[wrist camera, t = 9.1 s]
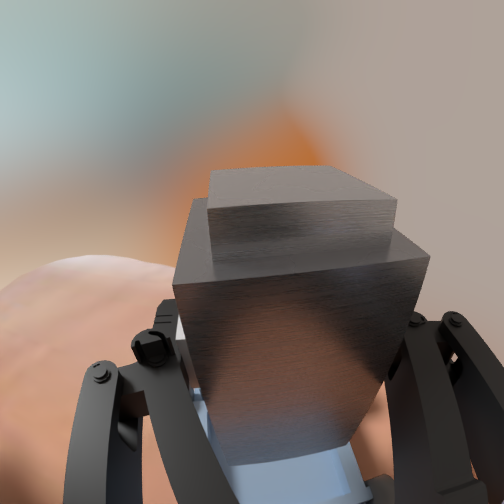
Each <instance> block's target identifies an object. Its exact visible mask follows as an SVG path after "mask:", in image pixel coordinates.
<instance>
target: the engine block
mask: <svg viewBox="0 0 504 504" xmlns="http://www.w3.org/2000/svg"><path fill="white" fill-rule="evenodd" d="M396 206H397V199H396V198H394V197H392V196H390V195H388V194H386V193H385V192H383V191H381V190H379V189H377V188H375V187H373V186H371V185H369V184H367V183H365V182H363V181H361V180H359V179H357V178H355V177H353V176H351V175H349V174H347V173H345V172H343V171H341V170H338V169H336V168H334V167H332V166H277V167H255V168H240V169H239V168H238V169H224V170H213V171H211V174H210V183H209V193H208V198H198V199H193V203H192V206H191V210H190V213H189V217H188V221H187V225H186V229H185V232H184V236H183V240H182V244H181V248H180V253H179V257H178V261H177V266H176V270H175V274H174V278H173V283H172V286H173V291H174V295H175V300H176V304H177V308H178V312H179V316H180V320H181V324H182V328H183V332H184V335H185V339H186V343H187V346H188V350H189V353H190V357H191V360H192V364H193V367H194V370H195V374H196V377H197V380H198V383H199V387H200V390H201V393H202V396H203V399H204V402H205V405H206V408H207V411H208V414H209V416H210V419H211V422H212V425H213V428H214V430H215V433H216V436H217V438H218V441H219V444H220V446H221V449H222V451H223V454H224V456H225V459H226V461H227V464H228V466H240V465H250V464H259V463H267V462H274V461H280V460H286V459H291V458H297V457H302V456H306V455H311V454H315V453H320V452H324V451H328V450H331V449H335V448H339V447H342V446H346V445H347V443H348V442H349V440H350V439H351V437H352V436H353V434H354V433H355V431H356V429H357V428H358V426H359V425H360V423H361V421H362V420H363V418H364V416H365V414H366V413H367V411H368V409H369V407H370V406H371V404H372V402H373V400H374V398H375V397H376V395H377V393H378V391H379V389H380V387H381V385H382V383H383V381H384V379H385V377H386V375H387V373H388V371H389V369H390V367H391V365H392V363H393V360H394V358H395V356H396V354H397V351H398V349H399V347H400V344H401V342H402V340H403V337H404V335H405V332H406V330H407V327H408V325H409V322H410V319H411V317H412V314H413V311H414V308H415V305H416V303H417V300H418V297H419V294H420V290H421V287H422V284H423V281H424V278H425V274H426V271H427V267H428V264H429V260H430V255H428V254H427V253H426V252H425V251H424V250H422V249H421V248H420V247H418V246H417V245H416V244H414V243H413V242H412V241H411V240H409V239H408V238H407V237H405V236H404V235H403V234H402V233H400V232H399V231H397V230H396V229H395V228H393V226H394V220H395V213H396Z"/></svg>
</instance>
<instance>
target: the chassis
mask: <svg viewBox="0 0 504 504" xmlns="http://www.w3.org/2000/svg"><path fill="white" fill-rule="evenodd" d="M189 393H190V396H191V398H192V401H193V403H194V406H195V409H196V411H197V414H198V416H199V419H200V421H201V423H202V426H203V428H204V431H205V433H206V435H207V438H208V440H209V442H210V444H211V447H212V449H213V451H214V453H215V455H216V458H217V460H218V462H219V464H220V466H221V468H222V470H223V472H224V474H225V476H226V478H227V480H228V482H229V484H230V486H231V488H232V490H233V492H234V494H235V496H236V497H237V499H238V501H239V503H240V504H395V491H394V480H393V479H392V478H391V477H390V476H388V475H386V474H383V475H380V476H378V477H375V478H372V479H370V480H367V481H363V478H362V475H361V472H360V470H359V467H358V464H357V461H356V459H355V456H354V453H353V450H352V448H351V445H350V442H348V443H347V445H346V446H342V447H339V448H335V449H331V450H328V451H324V452H320V453H315V454H311V455H306V456H302V457H297V458H291V459H286V460H280V461H274V462H267V463H259V464H250V465H240V466H228V464H227V461H226V459H225V456H224V454H223V451H222V449H221V446H220V444H219V441H218V438H217V436H216V433H215V430H214V428H213V425H212V422H211V419H210V416H209V414H208V411H207V408H206V405H205V402H204V399H203V396H202V393H201V390H200V388H195V391H194V389H193V388H191V385H190V383H189Z"/></svg>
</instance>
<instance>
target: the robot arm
mask: <svg viewBox="0 0 504 504" xmlns="http://www.w3.org/2000/svg"><path fill="white" fill-rule="evenodd" d="M131 348H132V350H133V352H134V355H135V357H136V359H137V362H136V363H133V364H130V365H127V366H123V367H119V368H117V367H116V365H115V364H114V363H112V362H111V361H105V360H104V361H98V362H96V363H94V364H92V365H91V366H90V367H89V368H88V369H87V371H86V373H85V376H84V379H83V383H82V387H81V391H80V395H79V399H78V404H77V408H76V412H75V417H74V422H73V427H72V432H71V438H70V444H69V450H68V457H67V465H66V473H65V483H64V496H63V504H143V497H142V427H143V416H147V415H150V419H151V423H152V426H153V430H154V434H155V437H156V441H157V444H158V448H159V451H160V454H161V458H162V461H163V464H164V467H165V470H166V473H167V476H168V478H169V481H170V484H171V487H172V489H173V492H174V495H175V497H176V500H177V502H178V504H240V503H239V501H238V499H237V497H236V496H235V494H234V492H233V490H232V488H231V486H230V484H229V482H228V480H227V478H226V476H225V474H224V472H223V470H222V468H221V466H220V464H219V462H218V460H217V458H216V455H215V453H214V451H213V449H212V447H211V444H210V442H209V440H208V438H207V435H206V433H205V431H204V428H203V426H202V423H201V421H200V419H199V416H198V414H197V411H196V409H195V406H194V403H193V401H192V398H191V396H190V393H189V383H190V385H191V388H200V387H199V383H198V380H197V377H196V374H195V370H194V367H193V364H192V360H191V357H190V353H189V350H188V346H187V343H186V339H185V335H184V332H183V328H182V324H181V320H180V316H179V312H178V308H177V304H176V300H175V299H167V300H163V301H162V303H161V304H160V305H159V306H158V307H157V312H156V317H155V320H154V324H153V329H147V330H144V331H142V332H140V333H139V334H137V335H136V336H135V337H134V339H133V340H132V343H131ZM454 353H455V354H456V355H457V357H458V358H457V360H456V361H455V362H453V361H452V359H451V358H452V356H453V354H454ZM384 382H385V389H386V395H387V402H388V410H389V418H390V427H391V437H392V448H393V463H394V491H395V504H488V503H489V504H504V367H503V366H502V364H501V363H500V362H499V360H498V359H497V358H496V356H495V355H494V353H493V352H492V351H491V350H490V348H489V347H488V345H487V344H486V343H485V342H484V340H483V339H482V338H481V337H480V335H479V334H478V333H477V332H476V330H475V329H474V328H473V327H472V325H471V324H470V323H469V322H468V321H467V319H466V318H465V317H464V316H462V315H461V314H459V313H457V312H453V311H450V312H446V313H445V314H444V315H443V317H442V320H441V321H427V320H426V318H425V317H424V316H423V315H421V314H420V313H417V312H414V311H413V314H412V317H411V319H410V322H409V325H408V327H407V330H406V332H405V335H404V337H403V340H402V342H401V344H400V347H399V349H398V351H397V354H396V356H395V358H394V360H393V363H392V365H391V367H390V369H389V371H388V373H387V375H386V377H385V379H384ZM470 460H471V462H470ZM471 463H472V465H473V467H474V470H475V472H476V475H477V477H478V480H477V479H475V478H474V477H473V474H472V468H471Z"/></svg>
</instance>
